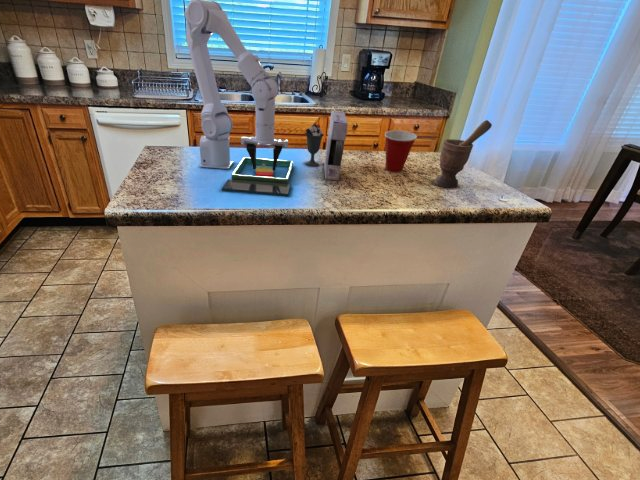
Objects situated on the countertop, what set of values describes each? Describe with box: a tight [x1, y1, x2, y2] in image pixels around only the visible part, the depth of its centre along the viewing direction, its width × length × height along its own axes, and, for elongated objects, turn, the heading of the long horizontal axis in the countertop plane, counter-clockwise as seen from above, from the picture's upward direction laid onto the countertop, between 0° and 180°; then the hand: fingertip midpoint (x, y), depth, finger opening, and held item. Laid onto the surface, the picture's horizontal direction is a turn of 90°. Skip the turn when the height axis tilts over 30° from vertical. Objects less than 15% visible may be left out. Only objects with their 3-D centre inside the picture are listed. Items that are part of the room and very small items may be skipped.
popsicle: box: [255, 164, 274, 177], centre depth 124 cm, size 6×15×2 cm, turn 4°
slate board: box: [221, 179, 291, 197], centre depth 112 cm, size 19×8×1 cm, turn 85°
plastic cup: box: [384, 129, 418, 173], centre depth 132 cm, size 11×11×12 cm
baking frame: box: [231, 156, 294, 184], centre depth 124 cm, size 17×20×2 cm
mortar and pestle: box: [433, 119, 493, 189], centre depth 119 cm, size 12×9×20 cm
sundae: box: [304, 117, 325, 167], centre depth 131 cm, size 7×7×15 cm
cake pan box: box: [323, 109, 349, 181], centre depth 124 cm, size 19×5×18 cm, turn 176°
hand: (264, 169), depth 123 cm, fingers closed on popsicle, 6 cm apart
